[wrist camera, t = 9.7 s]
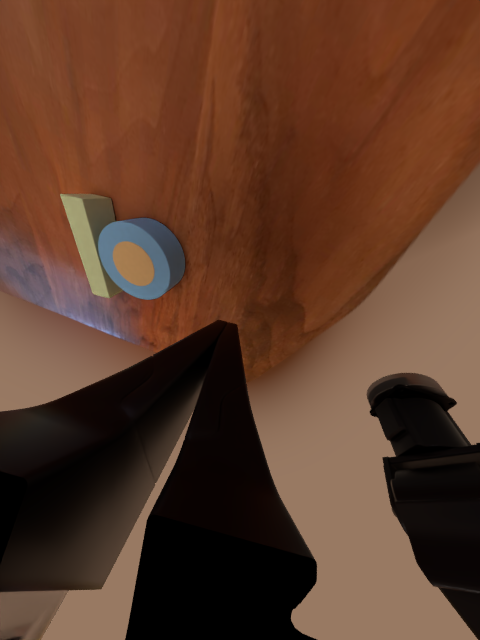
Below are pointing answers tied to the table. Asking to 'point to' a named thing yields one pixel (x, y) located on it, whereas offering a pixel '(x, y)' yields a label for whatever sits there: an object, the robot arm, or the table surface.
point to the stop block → (91, 236)
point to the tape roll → (141, 257)
